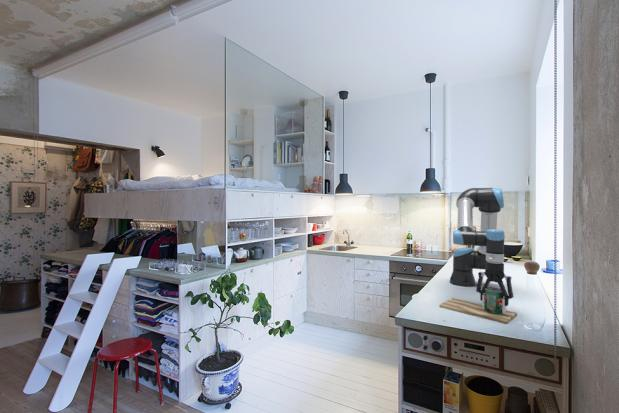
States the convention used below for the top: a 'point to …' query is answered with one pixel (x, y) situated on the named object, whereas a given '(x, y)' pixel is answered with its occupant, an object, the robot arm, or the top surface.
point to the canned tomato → (493, 301)
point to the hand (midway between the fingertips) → (493, 309)
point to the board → (476, 310)
